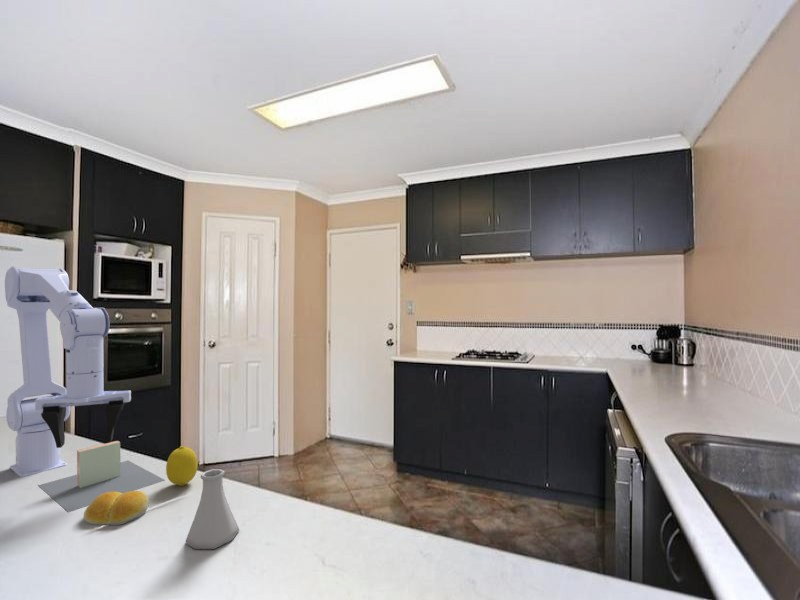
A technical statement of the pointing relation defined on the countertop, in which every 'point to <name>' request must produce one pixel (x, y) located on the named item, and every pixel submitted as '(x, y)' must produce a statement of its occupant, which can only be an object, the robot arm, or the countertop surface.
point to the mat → (98, 486)
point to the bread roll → (116, 508)
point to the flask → (212, 515)
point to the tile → (98, 463)
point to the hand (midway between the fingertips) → (85, 443)
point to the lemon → (181, 466)
